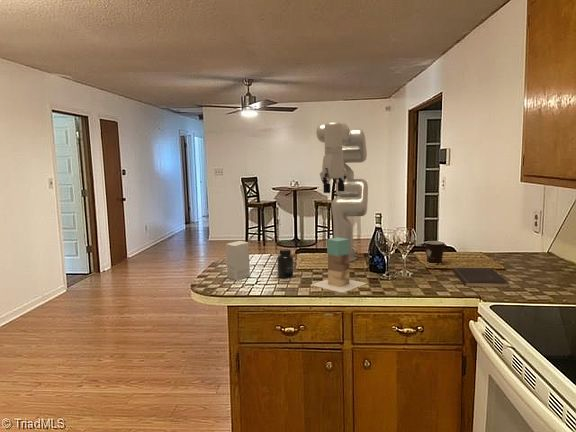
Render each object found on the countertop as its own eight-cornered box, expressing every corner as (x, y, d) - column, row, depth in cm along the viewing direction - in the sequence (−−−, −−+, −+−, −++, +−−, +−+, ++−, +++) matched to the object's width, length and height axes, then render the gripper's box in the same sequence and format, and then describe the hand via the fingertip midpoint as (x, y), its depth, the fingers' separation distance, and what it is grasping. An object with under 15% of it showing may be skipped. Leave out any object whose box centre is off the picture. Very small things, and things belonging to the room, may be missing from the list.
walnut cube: (337, 266, 178) (337, 252, 177) (349, 269, 174) (349, 254, 173) (327, 269, 174) (327, 254, 173) (339, 272, 169) (339, 256, 169)
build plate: (335, 278, 186) (335, 276, 185) (367, 285, 174) (367, 283, 174) (310, 287, 174) (310, 284, 174) (342, 295, 163) (342, 292, 163)
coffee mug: (446, 265, 204) (447, 244, 202) (428, 265, 204) (428, 244, 202) (438, 259, 215) (438, 239, 214) (420, 259, 215) (421, 239, 214)
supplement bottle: (291, 279, 187) (291, 251, 186) (276, 278, 189) (275, 251, 187) (294, 274, 194) (294, 248, 192) (279, 274, 195) (279, 248, 194)
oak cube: (337, 281, 178) (337, 266, 178) (349, 283, 174) (349, 269, 174) (328, 284, 174) (327, 269, 174) (340, 287, 170) (339, 272, 169)
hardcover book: (491, 273, 190) (491, 268, 190) (509, 288, 167) (509, 282, 167) (452, 272, 193) (452, 267, 192) (465, 287, 170) (465, 282, 170)
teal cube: (337, 251, 178) (337, 237, 177) (348, 254, 173) (348, 239, 172) (327, 254, 174) (327, 239, 173) (338, 256, 169) (338, 241, 168)
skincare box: (241, 274, 197) (240, 240, 195) (251, 276, 193) (249, 242, 191) (226, 278, 191) (225, 243, 189) (236, 280, 187) (234, 245, 185)
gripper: (339, 152, 195) (339, 190, 197) (313, 152, 183) (314, 193, 185) (352, 151, 190) (353, 190, 192) (327, 151, 178) (328, 193, 180)
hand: (334, 192), depth 189 cm, fingers open, 9 cm apart
